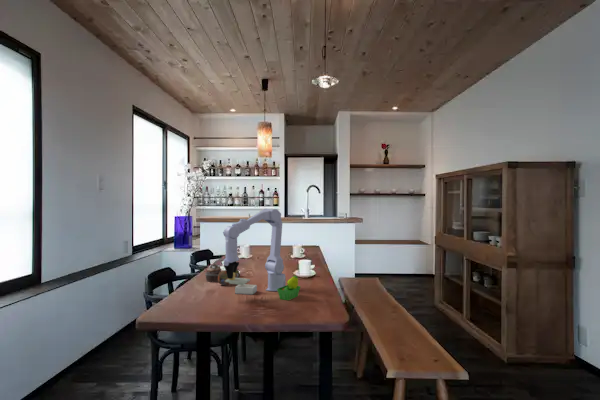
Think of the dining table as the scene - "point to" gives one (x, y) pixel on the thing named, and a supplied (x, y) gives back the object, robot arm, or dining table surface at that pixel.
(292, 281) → the fruit basket
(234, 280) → the lid
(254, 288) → the tub
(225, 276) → the tin
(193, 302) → the dining table surface
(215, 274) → the cupcake
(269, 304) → the dining table surface
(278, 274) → the robot arm
